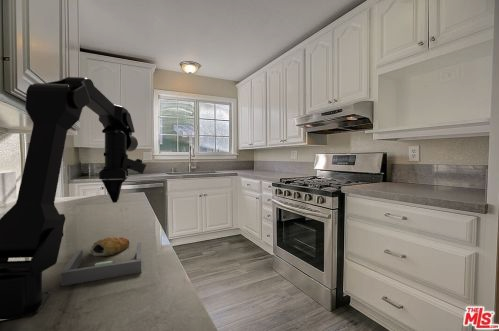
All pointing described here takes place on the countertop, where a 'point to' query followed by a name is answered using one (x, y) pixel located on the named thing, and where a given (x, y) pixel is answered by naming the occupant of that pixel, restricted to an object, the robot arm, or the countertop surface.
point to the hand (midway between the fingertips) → (115, 201)
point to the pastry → (109, 246)
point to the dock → (98, 269)
